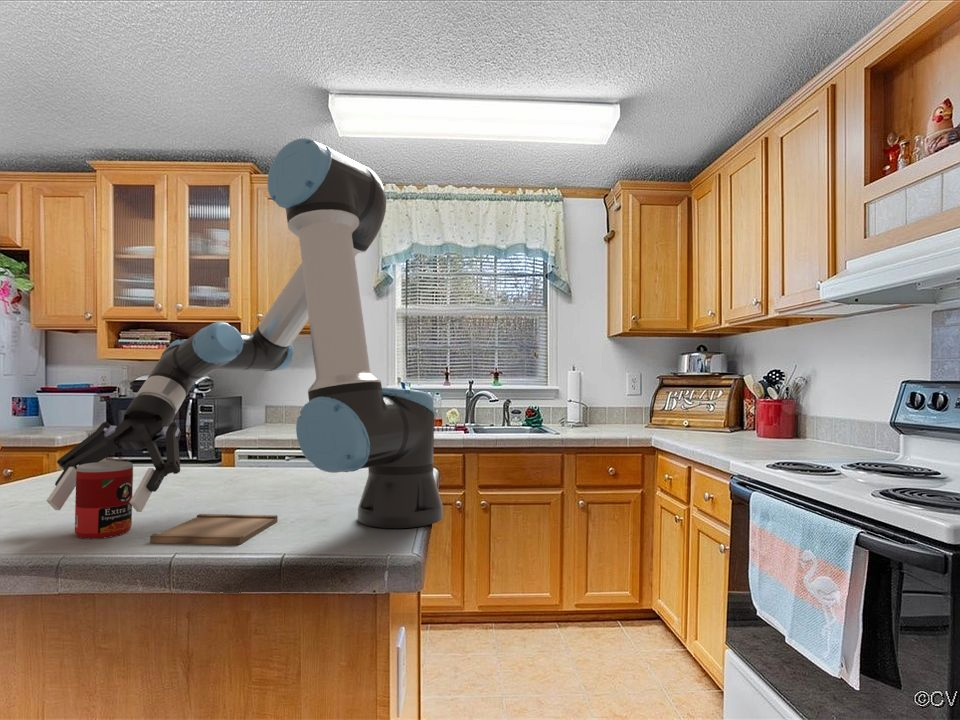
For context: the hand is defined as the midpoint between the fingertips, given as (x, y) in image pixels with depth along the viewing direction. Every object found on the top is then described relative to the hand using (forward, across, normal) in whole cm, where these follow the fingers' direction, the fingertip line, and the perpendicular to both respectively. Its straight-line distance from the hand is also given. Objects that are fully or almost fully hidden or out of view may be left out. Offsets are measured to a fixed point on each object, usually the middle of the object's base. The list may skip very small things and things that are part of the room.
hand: (93, 506), depth 91 cm
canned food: (+2, 0, -5) cm, 5 cm away
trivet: (0, -18, -6) cm, 19 cm away
